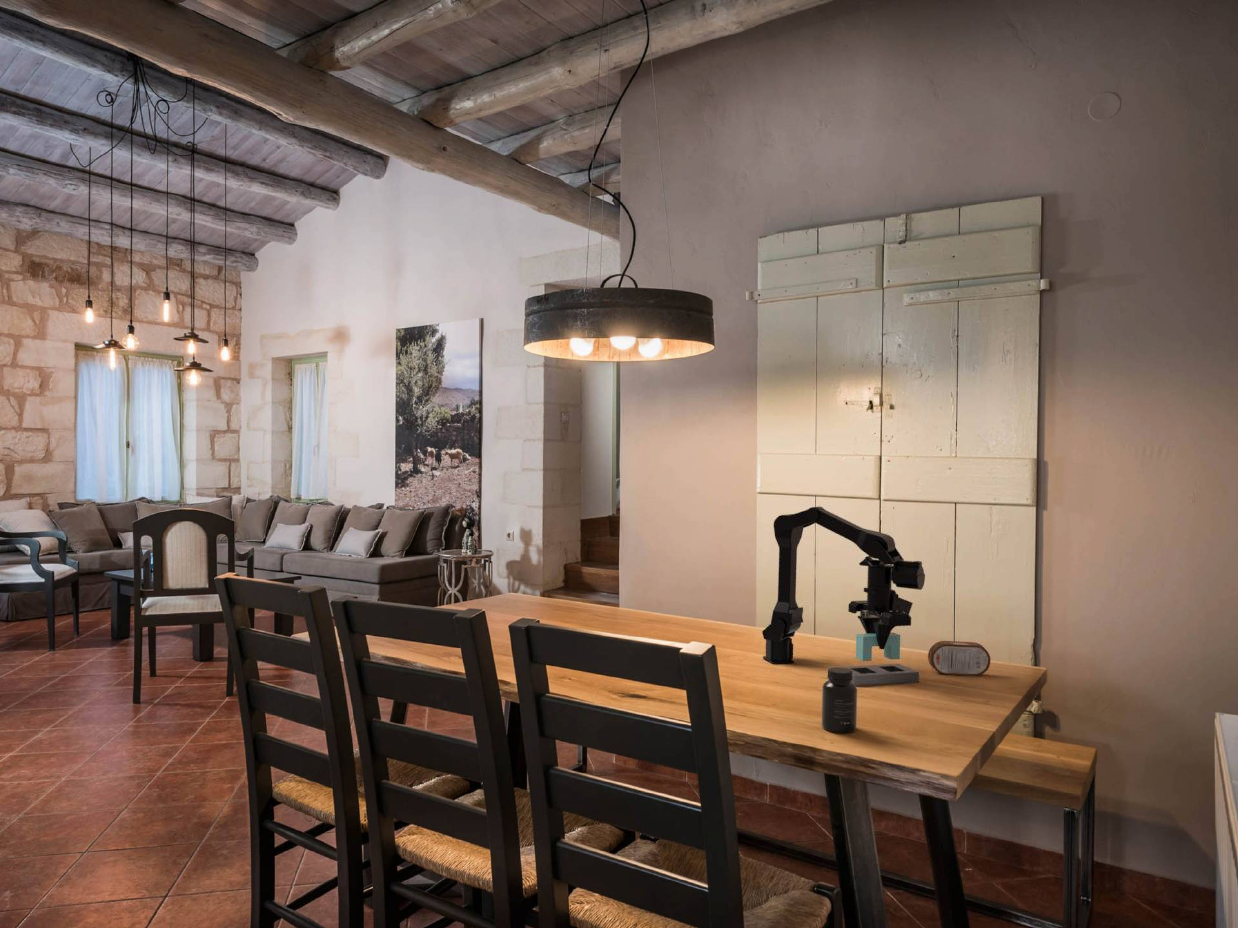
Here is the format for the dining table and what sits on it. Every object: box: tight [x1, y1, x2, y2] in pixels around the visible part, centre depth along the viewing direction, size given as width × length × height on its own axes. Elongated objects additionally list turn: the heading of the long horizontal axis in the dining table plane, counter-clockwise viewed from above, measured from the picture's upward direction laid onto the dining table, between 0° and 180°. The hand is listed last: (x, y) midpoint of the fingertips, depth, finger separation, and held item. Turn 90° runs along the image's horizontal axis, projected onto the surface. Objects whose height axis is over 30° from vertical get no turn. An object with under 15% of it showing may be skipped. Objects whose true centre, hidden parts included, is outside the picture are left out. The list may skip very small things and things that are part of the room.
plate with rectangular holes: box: [841, 663, 920, 687], centre depth 199 cm, size 18×8×2 cm, turn 106°
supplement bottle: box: [821, 666, 858, 735], centre depth 162 cm, size 7×7×12 cm
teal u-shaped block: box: [855, 632, 901, 662], centre depth 199 cm, size 10×3×6 cm, turn 106°
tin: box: [927, 640, 991, 677], centre depth 205 cm, size 15×3×8 cm, turn 84°
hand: (877, 647), depth 199 cm, fingers closed on teal u-shaped block, 3 cm apart
